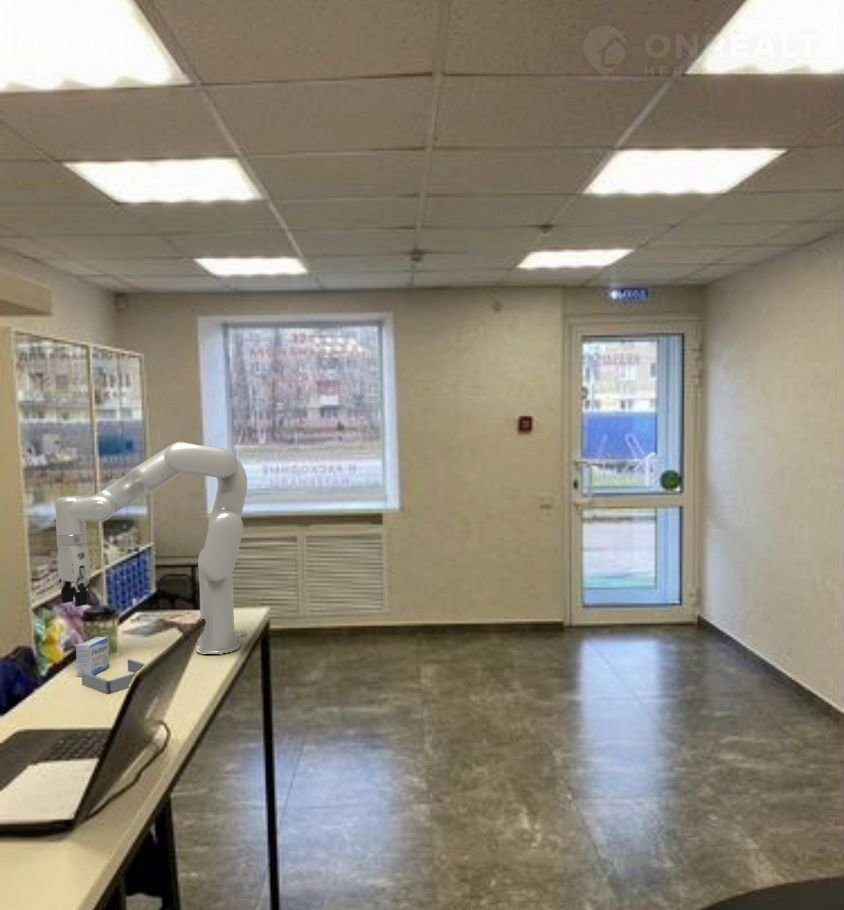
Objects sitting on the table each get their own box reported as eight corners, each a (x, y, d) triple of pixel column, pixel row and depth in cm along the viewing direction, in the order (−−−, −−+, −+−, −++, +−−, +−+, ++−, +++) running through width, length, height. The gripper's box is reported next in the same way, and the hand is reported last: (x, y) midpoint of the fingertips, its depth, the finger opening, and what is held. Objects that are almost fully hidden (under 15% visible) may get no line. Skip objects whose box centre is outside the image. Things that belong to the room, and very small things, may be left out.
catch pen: (130, 669, 197) (130, 658, 197) (157, 678, 190) (156, 667, 189) (81, 684, 187) (81, 672, 187) (107, 694, 179) (107, 682, 179)
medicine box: (91, 677, 192) (90, 645, 192) (76, 676, 193) (75, 644, 193) (109, 667, 200) (108, 637, 199) (95, 667, 201) (94, 636, 200)
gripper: (101, 540, 198) (103, 605, 199) (69, 536, 209) (72, 597, 209) (74, 544, 192) (76, 610, 193) (43, 540, 203) (46, 602, 204)
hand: (74, 603), depth 201 cm, fingers open, 6 cm apart
